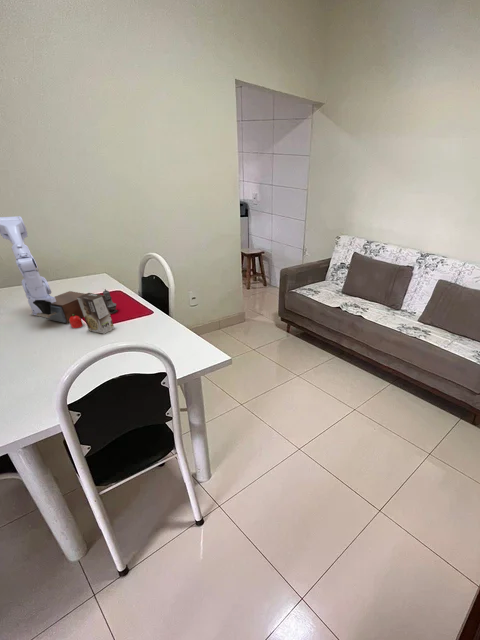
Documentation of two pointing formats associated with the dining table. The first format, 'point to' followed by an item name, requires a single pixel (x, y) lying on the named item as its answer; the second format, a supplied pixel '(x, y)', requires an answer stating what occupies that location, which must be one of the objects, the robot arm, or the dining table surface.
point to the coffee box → (96, 312)
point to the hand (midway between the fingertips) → (48, 315)
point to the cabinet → (69, 304)
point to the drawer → (55, 314)
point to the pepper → (75, 321)
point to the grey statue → (110, 302)
